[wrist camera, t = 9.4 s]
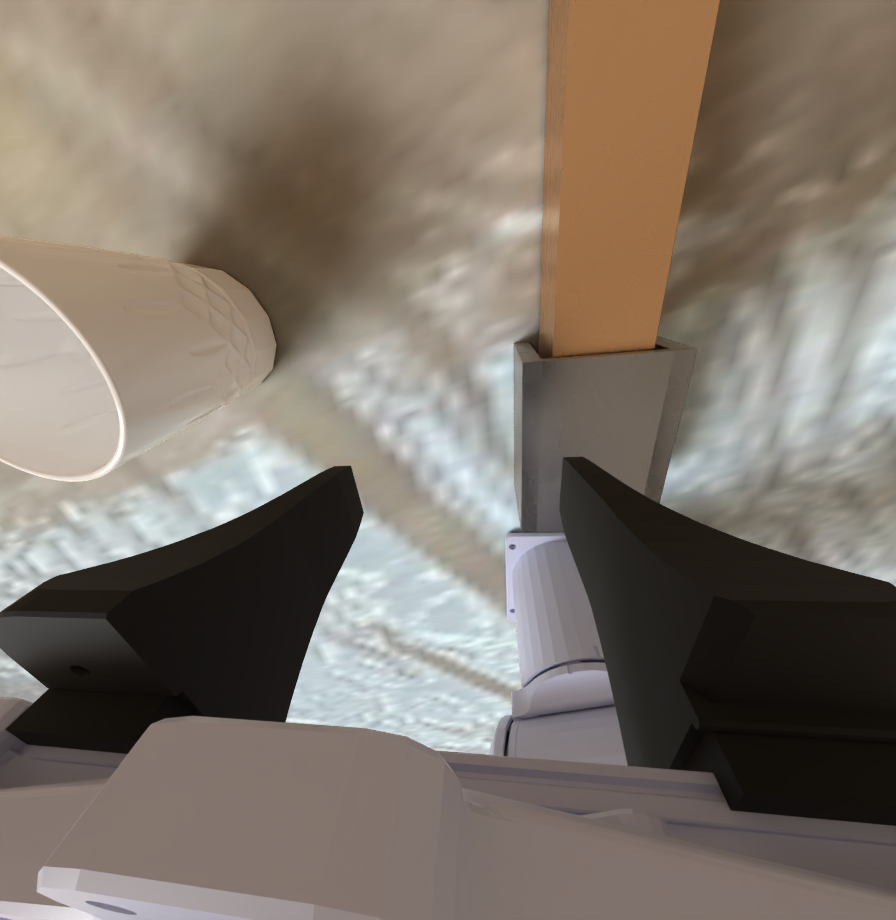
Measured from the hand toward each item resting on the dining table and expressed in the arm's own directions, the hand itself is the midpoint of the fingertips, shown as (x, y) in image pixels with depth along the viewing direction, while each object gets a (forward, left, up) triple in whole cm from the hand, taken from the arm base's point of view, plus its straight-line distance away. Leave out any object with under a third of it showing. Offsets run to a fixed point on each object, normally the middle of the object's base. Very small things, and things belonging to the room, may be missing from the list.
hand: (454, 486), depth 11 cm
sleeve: (-1, -6, -9) cm, 11 cm away
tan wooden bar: (+10, -6, -9) cm, 15 cm away
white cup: (+5, +14, -10) cm, 18 cm away
